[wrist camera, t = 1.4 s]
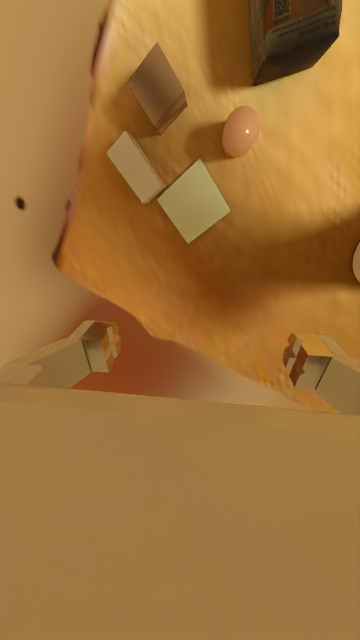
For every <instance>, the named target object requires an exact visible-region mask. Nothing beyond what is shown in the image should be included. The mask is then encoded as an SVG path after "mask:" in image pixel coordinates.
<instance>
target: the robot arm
mask: <svg viewBox="0 0 360 640" xmlns="http://www.w3.org/2000/svg"><path fill="white" fill-rule="evenodd" d="M353 272H354V275H355V277H356V279H357V280H358V281H359V282H360V242H359V244H358V246H357V248H356V251H355V253H354V257H353ZM118 331H119V328H118V325H117V323H115V322H102V321H88V320H87V321H84V322H83V323H82V324H81V325H80V326H79V327H78V328H77V329H76V330H75V331H74V333H72V334H71V335H70V336H69V337H68V338H67V339H62V340H60V341H58V342H55V343H52V344H50V345H48V346H45V347H43V348H40V349H38V350H36V351H33V352H31V353H29V354H26V355H24V356H21V357H19V358H17V359H14V360H12V361H9V362H7V363H6V364H5V365H4V366H3V367H2V368H0V640H360V361H358V360H356V359H352V358H349V357H348V356H347V354H346V353H345V352H344V351H343V350H342V349H341V348H340V347H339V345H338V344H337V343H336V342H335V341H334V340H333V339H332V338H331V336H329V335H324V334H292V333H291V334H290V336H289V338H288V343H289V346H288V347H286V348H285V350H284V353H283V363H284V366H285V368H286V369H287V370H288V371H290V375H289V377H290V379H291V381H292V383H293V385H294V388H303V389H312V390H315V391H316V392H317V393H318V394H320V395H321V396H322V397H323V398H324V399H325V400H326V401H327V402H329V403H330V404H331V405H332V406H333V407H334V408H335V409H337V410H338V411H339V412H340V413H341V414H340V413H328V412H317V411H306V410H296V409H284V408H274V407H263V406H252V405H241V404H231V403H220V402H208V401H198V400H187V399H175V398H165V397H154V396H143V395H132V394H121V393H110V392H99V391H89V390H78V389H69V388H70V387H71V386H73V385H74V384H75V383H77V382H78V381H80V380H81V379H82V378H83V377H85V376H86V375H87V374H89V373H90V372H91V371H97V372H109V371H110V369H111V367H112V365H113V363H114V360H113V358H115V357H117V356H118V354H119V352H120V348H121V339H120V337H119V336H118V335H117V332H118Z"/></svg>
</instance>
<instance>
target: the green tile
mask: <svg viewBox="0 0 360 640" xmlns="http://www.w3.org/2000/svg"><path fill="white" fill-rule="evenodd" d="M157 201H158V203H159V204H160V205H161V207H162V208H163V210H164V211H165V213H166V214H167V215H168V217H169V218H170V220H171V221H172V222H173V224H174V225H175V227H176V228H177V229H178V231H179V232H180V234H181V235H182V236H183V238H184V239H185V241H186V242H187V244H189V243H190V242H191V241H193V240H194V239H195V238H197V237H198V236H199V235H200V234H202V233H203V232H204V231H206V230H207V229H208V228H209V227H211V226H212V225H213V224H215V223H216V222H217V221H218V220H220V219H221V218H222V217H223V216H225V215H226V214H227V213H229V212H230V211H231V210H230V208H229V207H228V205H227V203H226V202H225V200H224V198H223V196H222V195H221V193H220V191H219V190H218V188H217V186H216V184H215V183H214V181H213V179H212V178H211V176H210V174H209V173H208V171H207V169H206V167H205V166H204V164H203V162H202V161H201V159H200V158H199V159H198V160H197V161H196V162H195V163H194V164H193V165H192V166H191V167H190V168H189V169H188V170H187V171H186V172H185V173H184V174H183V175H182V176H181V177H180V178H178V179H177V180H176V181H175V182H174V183H173V184H172V185H171V186H170V187H169V188H168V189H167V190H166V191H165V192H164V193H163V194H162V195H161V196H160V197H159V198H158V199H157Z"/></svg>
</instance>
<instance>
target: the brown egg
mask: <svg viewBox="0 0 360 640" xmlns="http://www.w3.org/2000/svg"><path fill="white" fill-rule="evenodd" d="M259 127H260V123H259V118H258V115H257V113H256V112H255V110H254V109H252V108H251V107H248V106H241V107H238V108H236V109H235V110H234V111H233V112H232V113H231V114H230V115H229V117H228V118H227V120H226V123H225V126H224V130H223V134H222V148H223V151H224V152H225V154H226V155H227V156H229V157H231V158H238V157H241V156H242V155H244V154H245V153H246V152H247V151H248V149H249V148H250V147H251V146H252V145H253V144H254V142H255V141H256V139H257V136H258V133H259Z"/></svg>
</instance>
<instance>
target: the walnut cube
mask: <svg viewBox="0 0 360 640" xmlns="http://www.w3.org/2000/svg"><path fill="white" fill-rule="evenodd" d="M127 84H128V86H129V87H130V89H131V91H132V92H133V94H134V95H135V97H136V99H137V100H138V102H139V103H140V105H141V106H142V108H143V110H144V111H145V113H146V114H147V116H148V118H149V119H150V121H151V122H152V124H153V126H154V127H155V128H156V129H157V131H158V132H159V133H160V135H161V134H162V133H163V132H164V131H165V130H166V129H167V128H168V127H169V125H170V124H171V123H172V122H173V121H174V120H175V119H176V118H177V117H178V115H179V114H180V113H181V112H182V111H183V110H184V109H185V108H186V107H187V102H186V98H185V93H184V90H183V88H182V86H181V84H180V83H179V81H178V79H177V77H176V75H175V73H174V72H173V70H172V68H171V66H170V64H169V63H168V61H167V59H166V57H165V55H164V53H163V52H162V50H161V48H160V46H159V44H158V43H156V44H155V45H154V47H153V48H152V49H151V51H150V52H149V54H148V55H147V56H146V58H145V59H144V60H143V62H142V63H141V64H140V66H139V67H138V69H137V70H136V71H135V73H134V74H133V75H132V77H131V78H130V79H129V81H128V82H127Z"/></svg>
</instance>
